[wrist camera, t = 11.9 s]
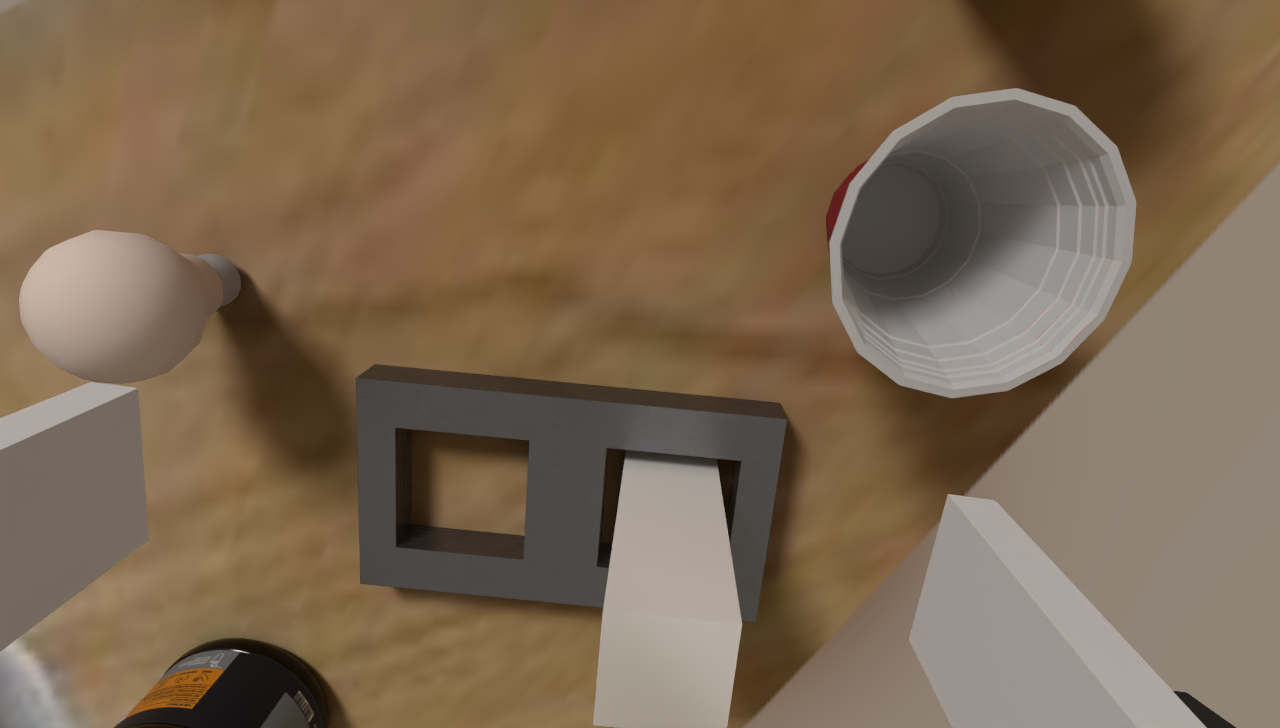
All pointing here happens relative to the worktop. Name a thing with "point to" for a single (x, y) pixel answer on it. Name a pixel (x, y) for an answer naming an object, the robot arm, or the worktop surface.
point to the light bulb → (121, 304)
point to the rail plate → (548, 479)
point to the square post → (668, 599)
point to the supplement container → (232, 690)
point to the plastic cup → (981, 242)
